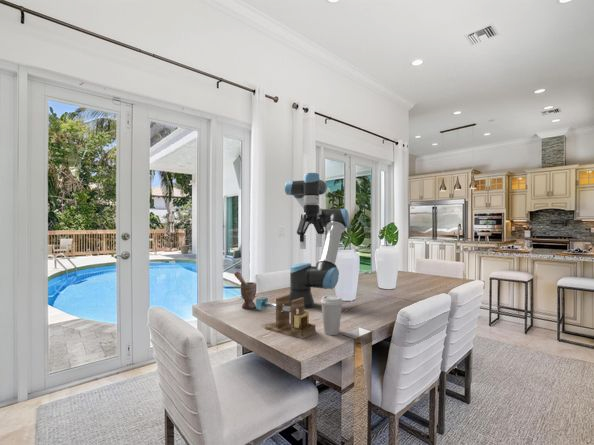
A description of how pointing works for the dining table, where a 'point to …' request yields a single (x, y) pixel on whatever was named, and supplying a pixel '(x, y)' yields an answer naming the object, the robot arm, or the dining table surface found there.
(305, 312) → the tan wooden piece
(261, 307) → the shaft
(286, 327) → the bracket
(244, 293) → the mortar and pestle
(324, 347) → the dining table surface
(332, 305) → the coffee cup
